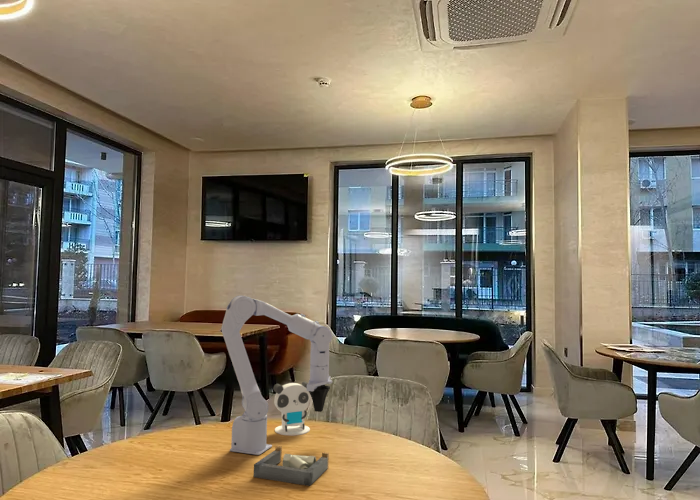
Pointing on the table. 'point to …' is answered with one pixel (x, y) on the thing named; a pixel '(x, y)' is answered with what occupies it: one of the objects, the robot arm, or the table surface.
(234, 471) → the table surface
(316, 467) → the grey u-shaped frame
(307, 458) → the pipe fitting
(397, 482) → the table surface
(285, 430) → the panda figurine
